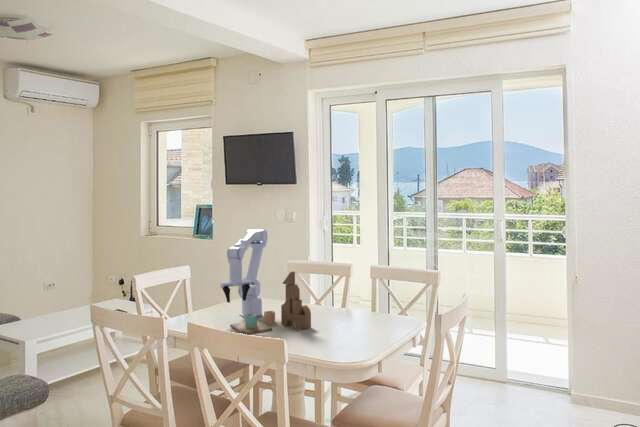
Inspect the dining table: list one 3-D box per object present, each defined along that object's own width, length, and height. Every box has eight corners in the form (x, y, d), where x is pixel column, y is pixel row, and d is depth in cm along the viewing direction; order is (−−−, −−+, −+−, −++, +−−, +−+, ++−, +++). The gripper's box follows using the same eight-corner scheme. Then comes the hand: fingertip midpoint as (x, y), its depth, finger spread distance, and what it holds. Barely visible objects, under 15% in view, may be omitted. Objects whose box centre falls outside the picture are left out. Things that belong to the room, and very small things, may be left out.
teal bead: (254, 324, 224) (254, 313, 224) (258, 326, 220) (258, 315, 220) (243, 325, 222) (243, 314, 222) (247, 328, 218) (247, 316, 218)
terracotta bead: (270, 320, 234) (269, 310, 234) (277, 322, 231) (277, 312, 231) (262, 323, 231) (261, 312, 230) (269, 324, 227) (269, 313, 227)
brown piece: (259, 322, 232) (259, 308, 231) (272, 330, 217) (272, 315, 217) (230, 326, 225) (230, 312, 225) (242, 334, 211) (241, 319, 211)
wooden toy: (312, 327, 221) (311, 272, 221) (300, 330, 217) (299, 273, 216) (290, 321, 233) (289, 268, 232) (279, 324, 228) (278, 270, 228)
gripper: (223, 274, 225) (223, 304, 225) (253, 272, 232) (253, 301, 232) (218, 272, 231) (219, 301, 232) (248, 270, 238) (248, 298, 238)
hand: (236, 301), depth 232 cm, fingers open, 7 cm apart
